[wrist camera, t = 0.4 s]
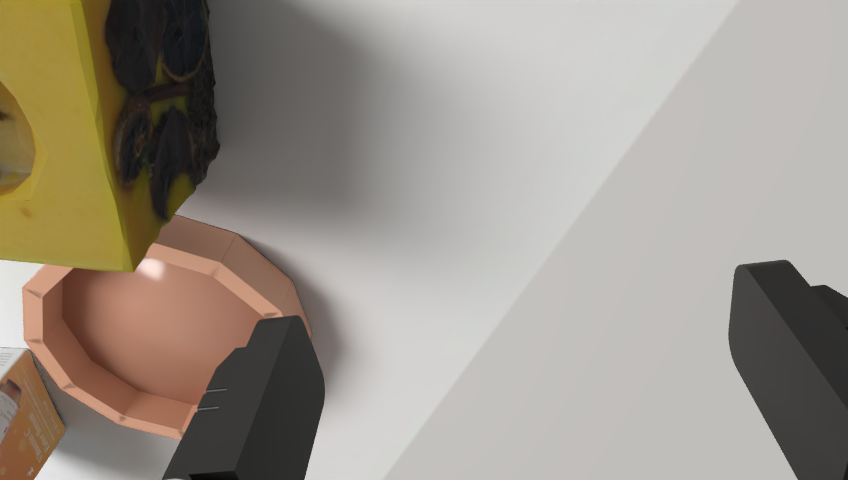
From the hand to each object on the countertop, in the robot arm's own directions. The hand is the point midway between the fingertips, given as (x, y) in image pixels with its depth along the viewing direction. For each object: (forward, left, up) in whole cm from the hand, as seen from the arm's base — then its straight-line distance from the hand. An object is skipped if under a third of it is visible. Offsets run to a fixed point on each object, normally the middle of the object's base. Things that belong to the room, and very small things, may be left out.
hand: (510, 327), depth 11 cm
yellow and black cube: (-3, -16, -18) cm, 24 cm away
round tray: (+13, -19, -18) cm, 29 cm away
